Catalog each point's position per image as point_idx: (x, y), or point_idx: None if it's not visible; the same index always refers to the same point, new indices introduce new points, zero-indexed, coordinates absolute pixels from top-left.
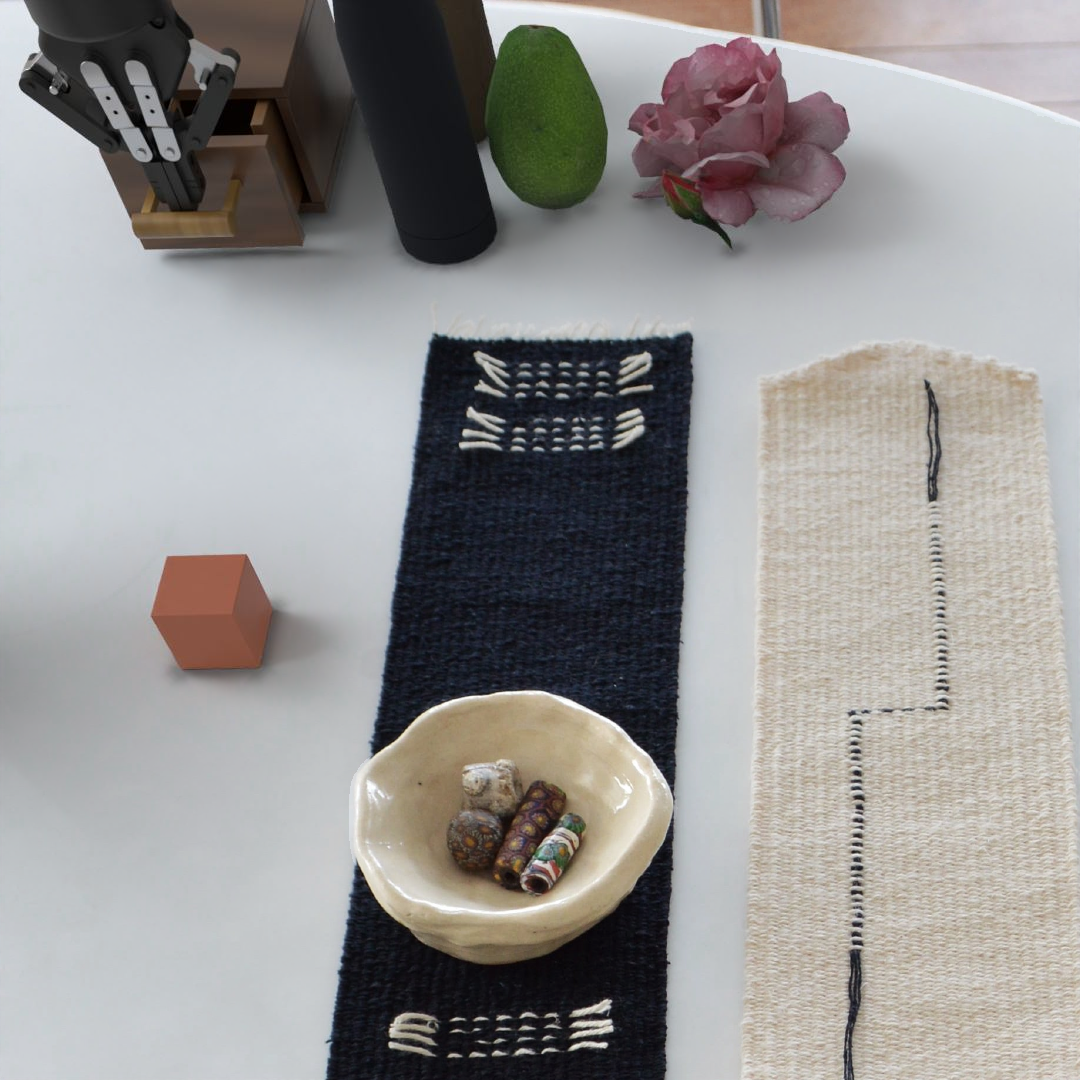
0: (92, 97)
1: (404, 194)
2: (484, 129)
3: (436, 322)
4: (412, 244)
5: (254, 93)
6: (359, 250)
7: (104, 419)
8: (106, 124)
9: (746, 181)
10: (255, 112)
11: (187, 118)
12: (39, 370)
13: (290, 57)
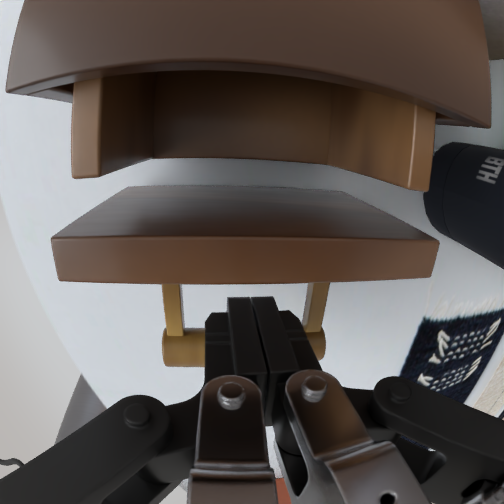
0: (101, 500)
1: (489, 259)
2: None
3: (428, 304)
4: (442, 230)
5: (436, 109)
6: (386, 201)
7: (166, 405)
8: (148, 474)
9: None
10: (417, 143)
11: (369, 432)
12: (88, 358)
13: (484, 30)
